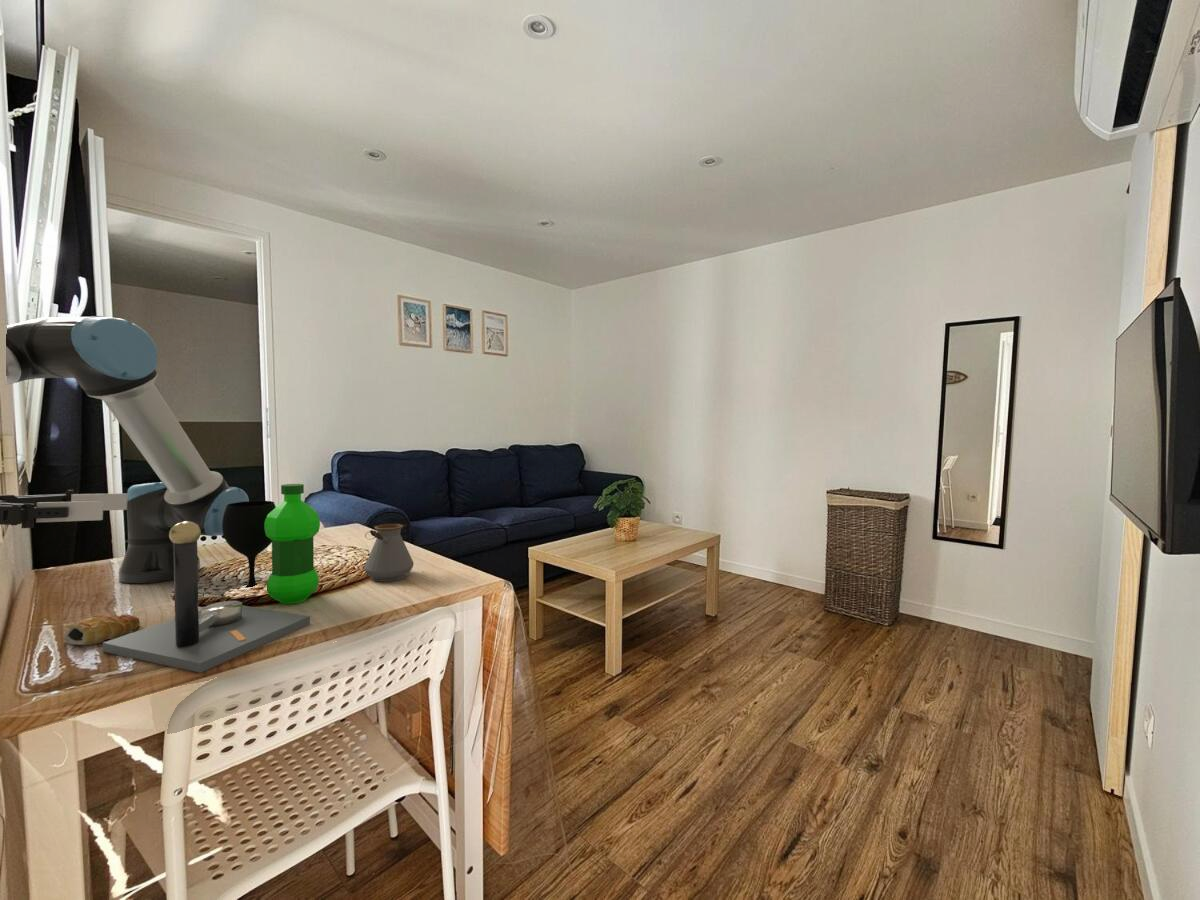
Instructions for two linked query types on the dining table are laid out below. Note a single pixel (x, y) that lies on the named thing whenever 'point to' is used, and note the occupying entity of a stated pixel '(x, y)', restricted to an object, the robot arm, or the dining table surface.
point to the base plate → (207, 640)
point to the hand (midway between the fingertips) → (115, 505)
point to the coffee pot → (388, 554)
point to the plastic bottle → (292, 547)
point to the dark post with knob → (194, 589)
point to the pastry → (100, 629)
